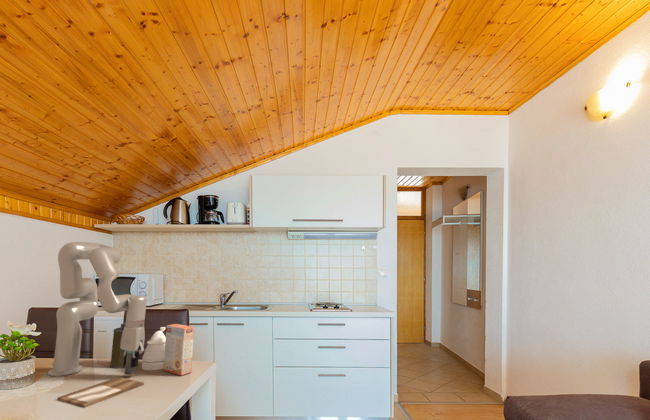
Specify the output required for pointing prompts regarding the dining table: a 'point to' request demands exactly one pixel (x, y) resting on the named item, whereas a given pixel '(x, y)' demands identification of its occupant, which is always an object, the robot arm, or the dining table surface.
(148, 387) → the dining table surface
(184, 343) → the cracker box
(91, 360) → the dining table surface
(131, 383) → the writing board
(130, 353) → the marker
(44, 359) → the dining table surface
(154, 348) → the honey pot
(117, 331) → the canister
